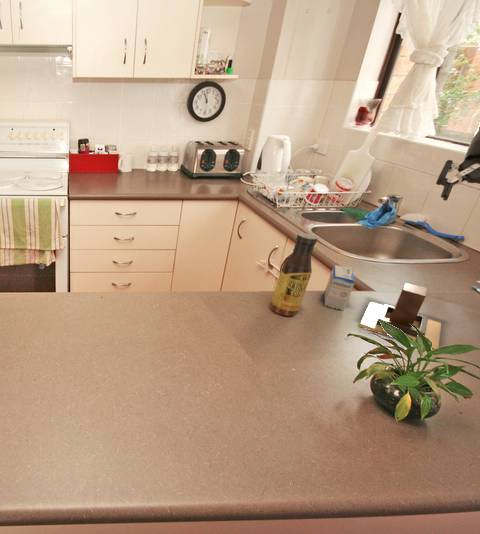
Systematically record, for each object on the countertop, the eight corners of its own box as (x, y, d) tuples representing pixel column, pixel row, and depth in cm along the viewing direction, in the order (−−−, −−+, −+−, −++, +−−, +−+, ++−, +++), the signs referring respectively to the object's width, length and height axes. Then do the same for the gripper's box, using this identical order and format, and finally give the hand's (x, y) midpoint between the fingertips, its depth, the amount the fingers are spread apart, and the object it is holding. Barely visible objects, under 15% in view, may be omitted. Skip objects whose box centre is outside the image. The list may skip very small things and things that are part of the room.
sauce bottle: (279, 318, 92) (302, 241, 84) (264, 305, 98) (284, 231, 89) (304, 316, 93) (329, 240, 85) (287, 303, 99) (309, 230, 90)
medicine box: (323, 293, 104) (333, 264, 100) (342, 298, 102) (353, 268, 98) (323, 306, 98) (334, 275, 94) (344, 311, 96) (355, 280, 92)
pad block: (411, 322, 90) (427, 288, 86) (409, 330, 87) (425, 296, 83) (390, 315, 93) (405, 282, 89) (388, 323, 89) (402, 289, 86)
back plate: (439, 326, 91) (444, 317, 90) (436, 353, 81) (441, 343, 80) (368, 304, 99) (372, 296, 98) (358, 327, 90) (362, 317, 89)
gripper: (456, 133, 95) (434, 187, 92) (540, 139, 87) (519, 199, 84) (447, 153, 101) (426, 204, 98) (525, 161, 92) (505, 217, 90)
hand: (469, 202), depth 91 cm, fingers open, 8 cm apart
